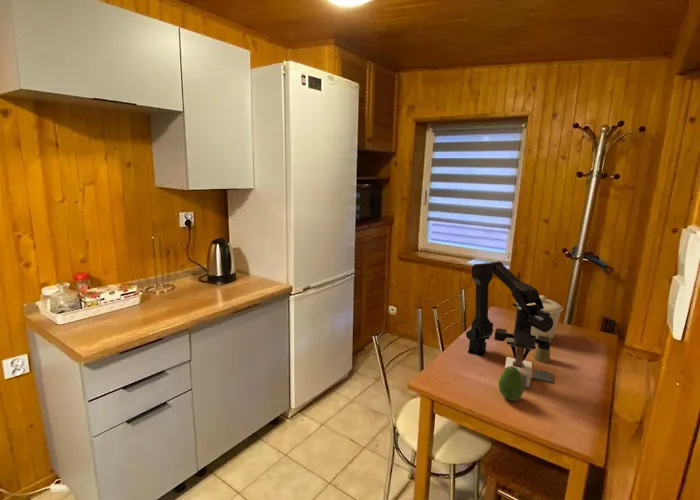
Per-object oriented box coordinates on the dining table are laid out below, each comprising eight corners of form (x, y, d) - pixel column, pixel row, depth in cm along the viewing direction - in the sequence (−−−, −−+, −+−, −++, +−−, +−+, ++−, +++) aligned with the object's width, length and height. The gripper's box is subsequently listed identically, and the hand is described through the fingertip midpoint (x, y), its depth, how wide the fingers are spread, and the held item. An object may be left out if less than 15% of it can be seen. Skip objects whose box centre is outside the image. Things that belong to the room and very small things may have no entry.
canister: (521, 326, 197) (525, 286, 192) (560, 335, 187) (567, 294, 182) (511, 339, 183) (516, 296, 178) (554, 350, 172) (560, 305, 168)
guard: (503, 383, 147) (504, 367, 145) (504, 371, 154) (506, 356, 153) (529, 389, 143) (531, 373, 141) (529, 377, 151) (531, 361, 149)
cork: (551, 363, 161) (555, 339, 158) (536, 362, 162) (539, 337, 160) (547, 356, 167) (550, 333, 164) (532, 355, 168) (535, 331, 165)
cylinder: (513, 372, 147) (517, 346, 144) (514, 369, 149) (517, 343, 146) (521, 374, 146) (524, 347, 143) (521, 370, 148) (524, 344, 145)
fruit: (509, 407, 132) (513, 376, 129) (492, 395, 139) (495, 364, 136) (526, 402, 135) (530, 371, 132) (509, 390, 142) (512, 360, 139)
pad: (532, 379, 149) (532, 377, 149) (532, 370, 156) (532, 369, 156) (552, 383, 147) (553, 382, 146) (552, 374, 153) (552, 373, 153)
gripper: (494, 324, 140) (490, 363, 143) (553, 334, 132) (547, 375, 136) (497, 313, 150) (493, 350, 153) (551, 322, 142) (546, 361, 146)
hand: (519, 359), depth 147 cm, fingers closed on cylinder, 3 cm apart
